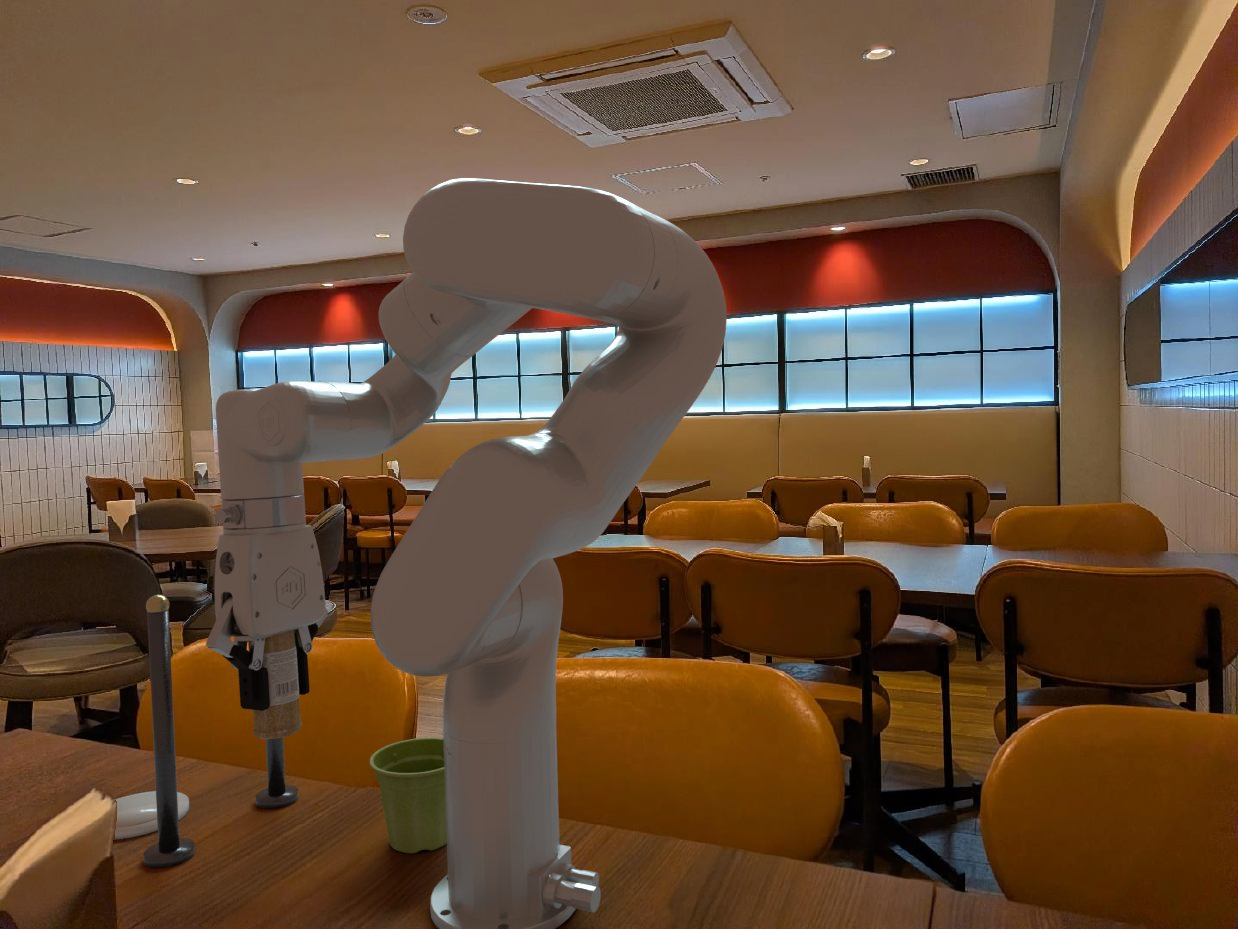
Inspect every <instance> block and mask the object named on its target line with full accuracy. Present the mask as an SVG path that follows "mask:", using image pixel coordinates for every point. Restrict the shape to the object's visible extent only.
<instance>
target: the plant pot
mask: <svg viewBox="0 0 1238 929" xmlns="http://www.w3.org/2000/svg"><path fill="white" fill-rule="evenodd" d="M369 767H370V768H371V769H372V770H373V771H374V774H375V779H376V782H377V783H378V785H379V790H380V794H381V800H382V806H383V812H384V818H385V824H386V831H387V836H388V840H389V844H390V846H391V848H392V849H394V850H395V851H398V852H401V853H404V854H416V853H418V852H420V851H423V850H424V851H425V850H426V851H427V850H428V851H434V850H437V849H440V848H441V847H443V846H445V845H447V833H446V803H445V774H444V745H443V737H418V738H411V739H405V740H401V741H397V742H394V743H391V744H388V745H385V746H384V747H381V748H379V749H378V750H376V751H375V752H374V753H373V754H372V755H371V756H370V758H369Z"/></svg>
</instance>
